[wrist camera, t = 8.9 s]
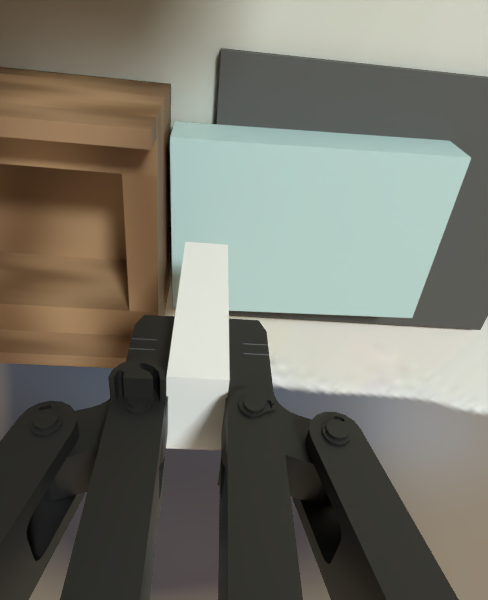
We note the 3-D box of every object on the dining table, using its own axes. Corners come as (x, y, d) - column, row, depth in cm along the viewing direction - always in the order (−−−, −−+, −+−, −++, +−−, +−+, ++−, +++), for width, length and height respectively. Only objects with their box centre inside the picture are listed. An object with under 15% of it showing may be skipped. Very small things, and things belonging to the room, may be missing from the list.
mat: (204, 309, 26) (204, 313, 26) (221, 48, 18) (221, 49, 18) (477, 325, 27) (480, 329, 27) (597, 88, 20) (603, 90, 19)
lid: (176, 283, 24) (172, 308, 23) (174, 121, 20) (170, 137, 18) (398, 293, 25) (412, 318, 23) (449, 140, 20) (471, 157, 19)
